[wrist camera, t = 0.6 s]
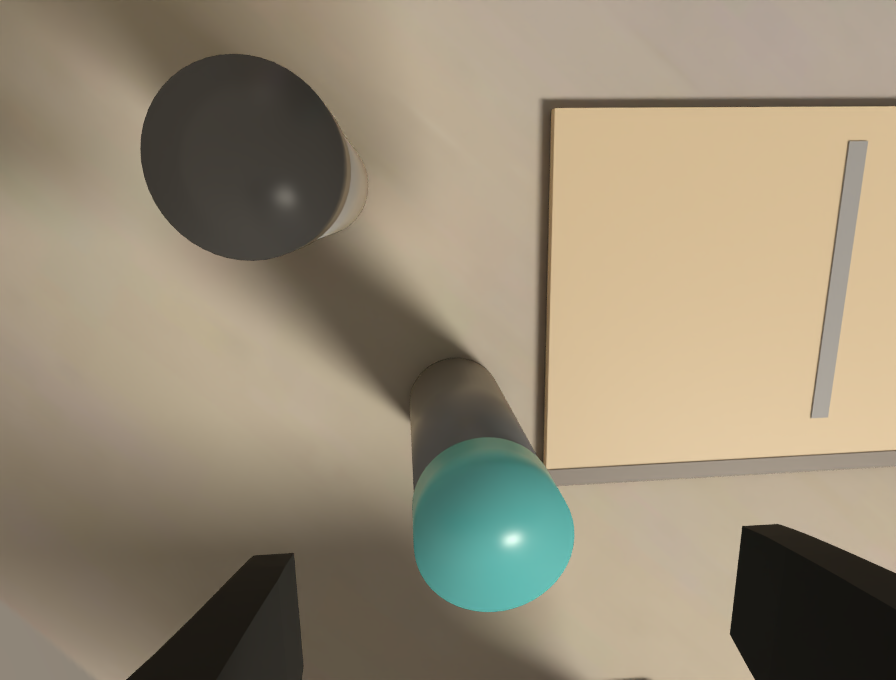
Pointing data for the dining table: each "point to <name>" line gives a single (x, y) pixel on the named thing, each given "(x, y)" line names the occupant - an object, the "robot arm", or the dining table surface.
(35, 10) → the dining table surface
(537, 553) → the cylinder
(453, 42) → the dining table surface
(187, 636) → the robot arm
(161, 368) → the dining table surface
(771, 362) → the notepad
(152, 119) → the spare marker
